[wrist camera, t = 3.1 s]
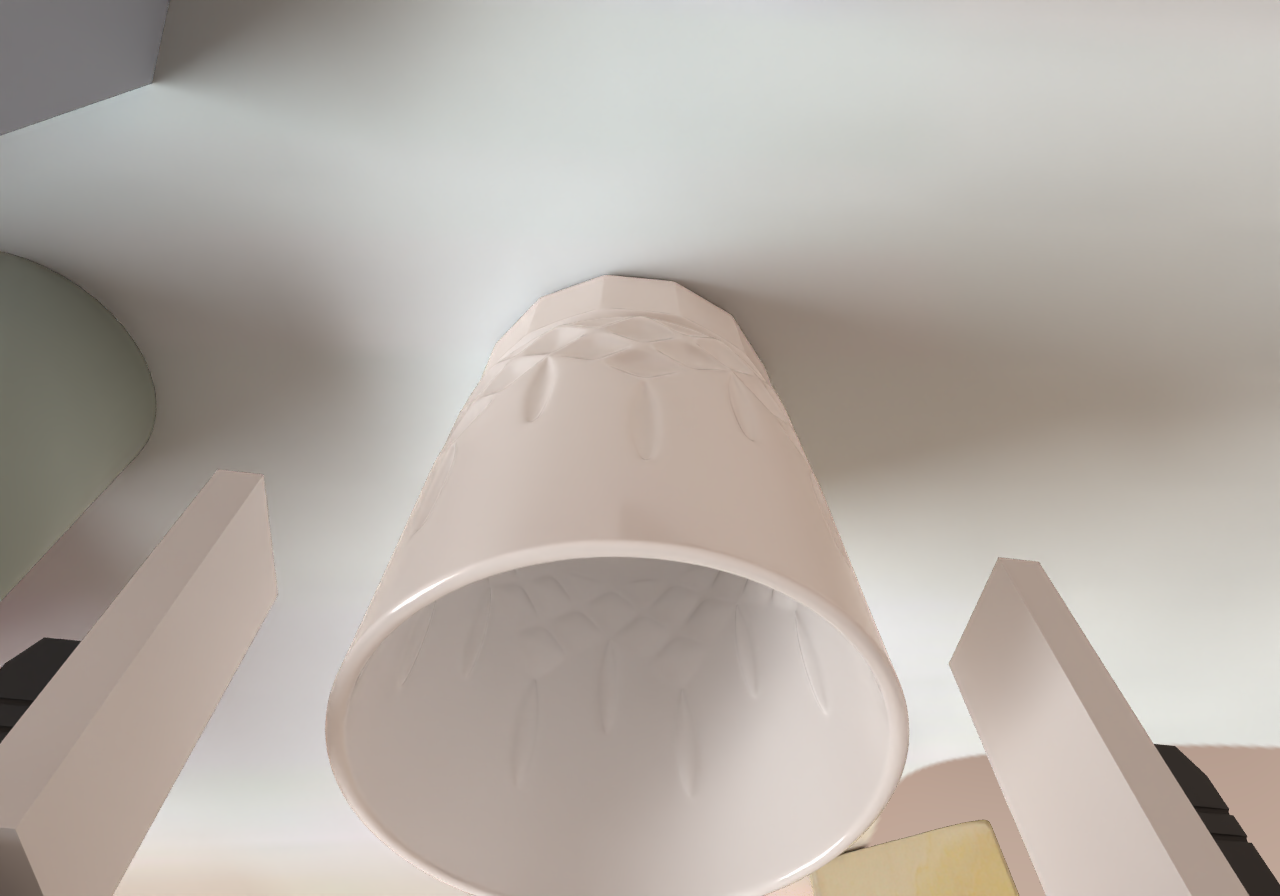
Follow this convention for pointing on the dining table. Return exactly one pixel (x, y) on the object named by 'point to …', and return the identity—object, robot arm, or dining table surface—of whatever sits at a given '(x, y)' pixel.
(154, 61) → the slate blue block
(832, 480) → the dining table surface
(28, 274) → the grayish green cylinder
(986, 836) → the toy refrigerator
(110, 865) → the robot arm
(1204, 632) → the dining table surface
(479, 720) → the white cup
